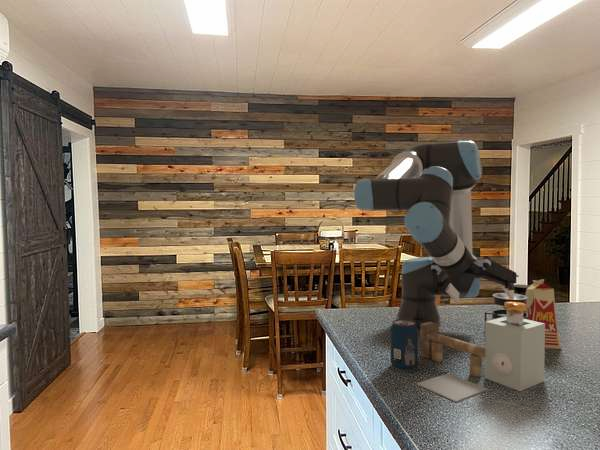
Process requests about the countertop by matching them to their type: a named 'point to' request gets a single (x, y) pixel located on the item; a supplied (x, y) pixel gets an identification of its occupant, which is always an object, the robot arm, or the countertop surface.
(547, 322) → the milk carton
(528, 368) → the cabinet
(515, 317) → the gauge knob
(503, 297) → the french press
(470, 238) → the robot arm
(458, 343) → the handrail
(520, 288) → the supplement container
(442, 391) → the mat
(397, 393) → the countertop surface
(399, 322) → the soda can
